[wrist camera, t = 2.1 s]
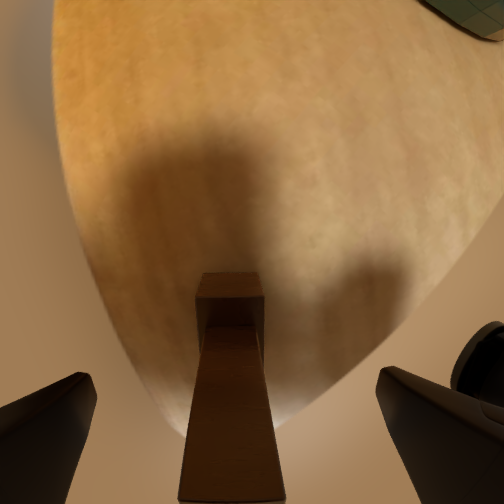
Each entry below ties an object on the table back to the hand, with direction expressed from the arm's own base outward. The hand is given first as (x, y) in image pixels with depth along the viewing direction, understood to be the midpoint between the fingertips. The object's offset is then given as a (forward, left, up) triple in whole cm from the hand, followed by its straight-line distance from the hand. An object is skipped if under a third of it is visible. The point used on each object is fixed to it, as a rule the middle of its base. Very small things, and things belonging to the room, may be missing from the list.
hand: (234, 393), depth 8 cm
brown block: (0, 0, -6) cm, 6 cm away
